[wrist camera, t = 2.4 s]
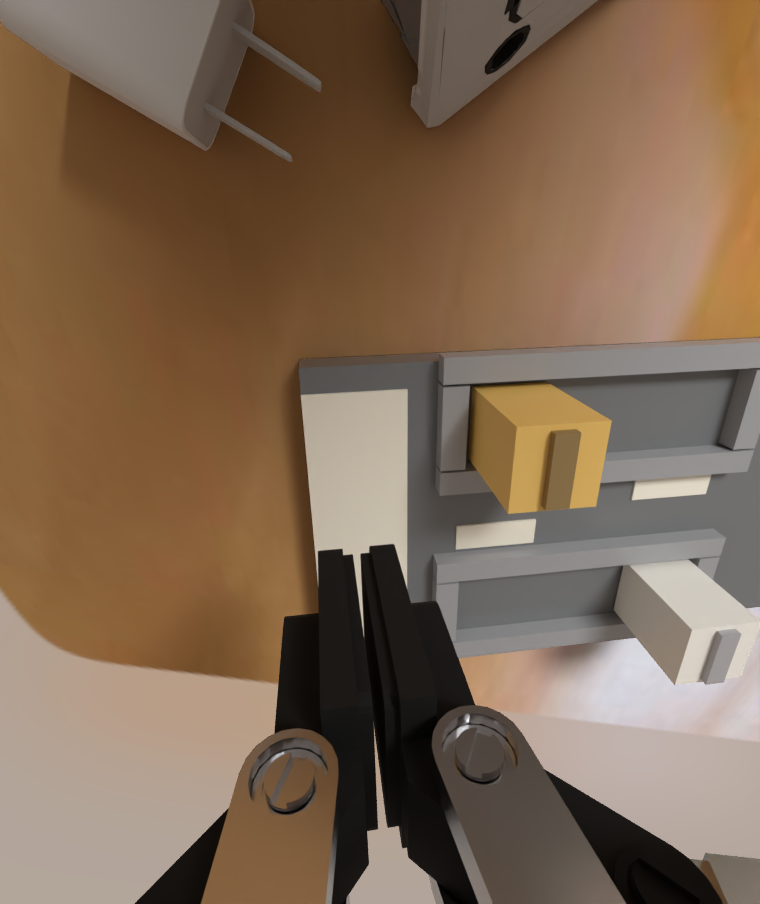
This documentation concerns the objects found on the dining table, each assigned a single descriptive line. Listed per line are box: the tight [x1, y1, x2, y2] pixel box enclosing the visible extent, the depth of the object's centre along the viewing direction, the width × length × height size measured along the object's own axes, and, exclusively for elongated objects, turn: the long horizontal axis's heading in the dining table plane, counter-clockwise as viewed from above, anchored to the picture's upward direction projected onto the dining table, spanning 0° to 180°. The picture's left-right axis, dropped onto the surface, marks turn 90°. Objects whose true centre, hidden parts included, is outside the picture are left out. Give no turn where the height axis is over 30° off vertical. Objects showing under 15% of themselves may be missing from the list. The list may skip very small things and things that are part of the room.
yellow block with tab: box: [468, 382, 612, 514], centre depth 17 cm, size 3×3×5 cm
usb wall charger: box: [0, 0, 321, 162], centre depth 13 cm, size 4×7×4 cm, turn 61°
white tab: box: [613, 559, 760, 685], centre depth 21 cm, size 3×3×5 cm
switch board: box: [299, 337, 760, 658], centre depth 22 cm, size 15×24×2 cm, turn 91°
